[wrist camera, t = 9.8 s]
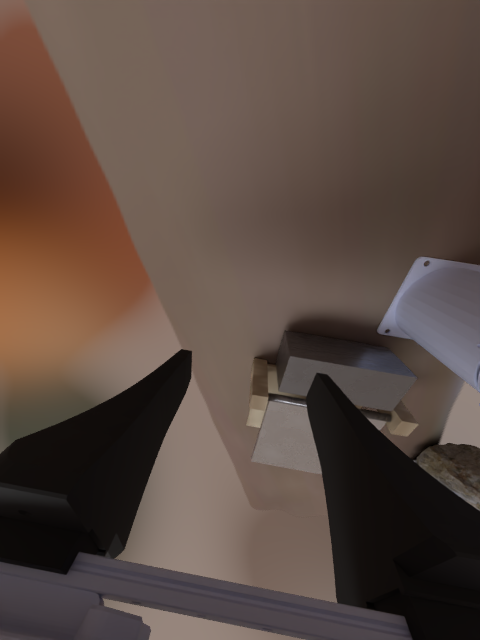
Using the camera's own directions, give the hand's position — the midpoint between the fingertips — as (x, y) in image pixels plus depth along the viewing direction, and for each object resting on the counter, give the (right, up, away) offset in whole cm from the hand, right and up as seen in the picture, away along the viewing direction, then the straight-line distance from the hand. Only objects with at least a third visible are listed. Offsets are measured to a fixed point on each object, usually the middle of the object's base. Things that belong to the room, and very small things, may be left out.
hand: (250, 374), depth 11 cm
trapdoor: (+8, -7, +14) cm, 17 cm away
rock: (+23, -18, +11) cm, 32 cm away
